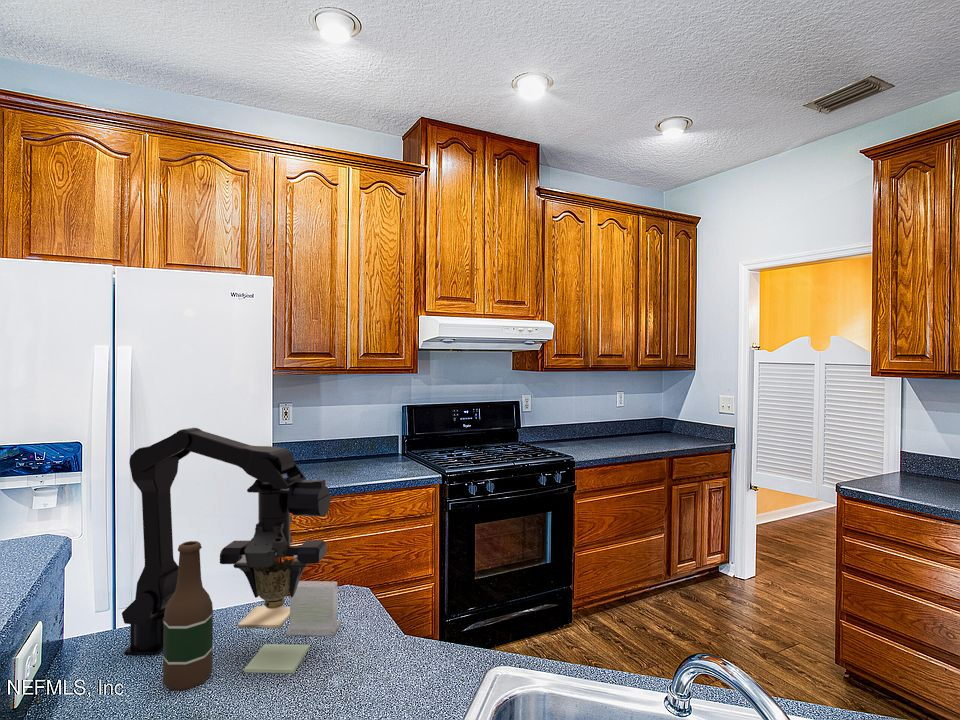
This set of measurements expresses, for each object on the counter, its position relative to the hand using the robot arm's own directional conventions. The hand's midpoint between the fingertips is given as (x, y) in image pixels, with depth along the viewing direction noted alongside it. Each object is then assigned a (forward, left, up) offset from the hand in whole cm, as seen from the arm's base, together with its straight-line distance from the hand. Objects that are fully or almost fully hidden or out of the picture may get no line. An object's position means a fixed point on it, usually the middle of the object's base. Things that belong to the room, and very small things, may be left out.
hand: (274, 596), depth 105 cm
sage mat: (+1, -1, -11) cm, 11 cm away
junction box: (+4, +11, -11) cm, 16 cm away
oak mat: (-8, +16, -11) cm, 21 cm away
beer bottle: (-12, -8, -12) cm, 19 cm away
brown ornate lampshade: (0, 0, -2) cm, 2 cm away
